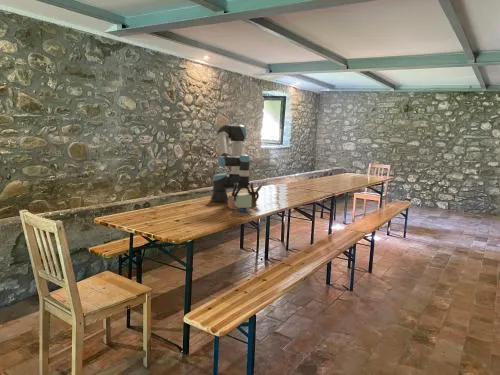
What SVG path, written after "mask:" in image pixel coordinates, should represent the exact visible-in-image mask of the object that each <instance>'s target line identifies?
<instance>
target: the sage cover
mask: <svg viewBox="0 0 500 375" xmlns="http://www.w3.org/2000/svg"><path fill="white" fill-rule="evenodd" d="M251 204H252V195H250V194H249V193H248V192H243V193H242V192H239V193H238V194H237V207H238V208H252V206H251ZM235 206H236V205H235Z"/></svg>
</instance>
